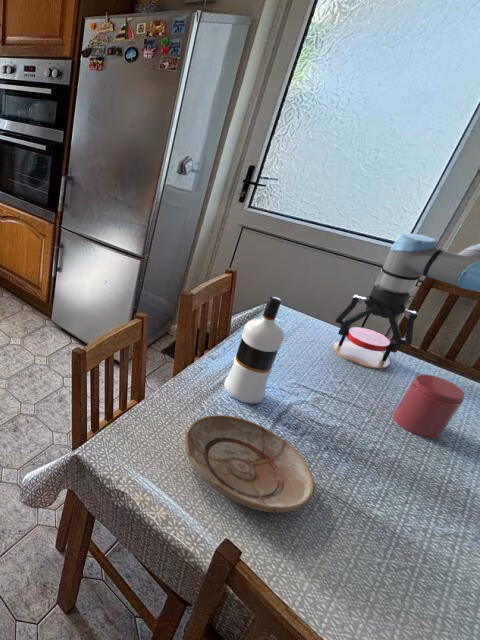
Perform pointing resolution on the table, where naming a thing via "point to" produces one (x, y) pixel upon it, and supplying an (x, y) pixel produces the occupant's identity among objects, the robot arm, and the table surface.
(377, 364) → the coaster
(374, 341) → the lid
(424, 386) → the jam jar
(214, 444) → the ceramic bowl
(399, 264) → the robot arm
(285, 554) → the table surface
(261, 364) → the vodka
